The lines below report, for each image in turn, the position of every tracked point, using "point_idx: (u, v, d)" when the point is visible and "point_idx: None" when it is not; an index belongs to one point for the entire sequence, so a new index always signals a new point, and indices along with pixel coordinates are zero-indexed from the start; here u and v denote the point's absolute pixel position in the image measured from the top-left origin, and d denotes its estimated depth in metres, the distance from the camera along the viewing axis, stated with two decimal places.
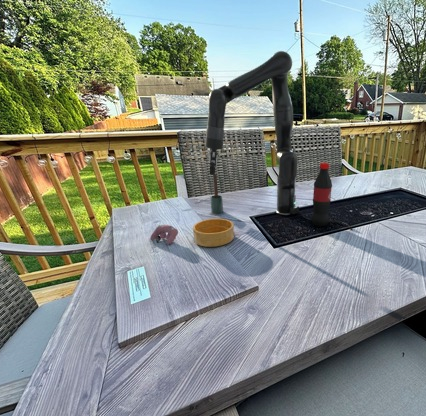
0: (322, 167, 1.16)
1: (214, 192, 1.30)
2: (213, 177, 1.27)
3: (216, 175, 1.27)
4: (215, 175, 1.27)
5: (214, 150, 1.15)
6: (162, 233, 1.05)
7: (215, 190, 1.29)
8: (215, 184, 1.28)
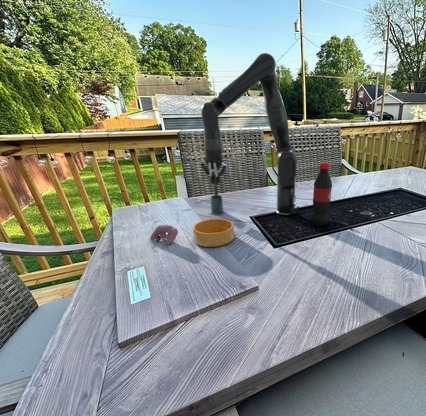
0: (322, 167, 1.16)
1: (214, 192, 1.30)
2: (213, 177, 1.27)
3: None
4: (215, 175, 1.27)
5: (221, 159, 1.25)
6: (162, 233, 1.05)
7: (215, 190, 1.29)
8: (215, 184, 1.28)
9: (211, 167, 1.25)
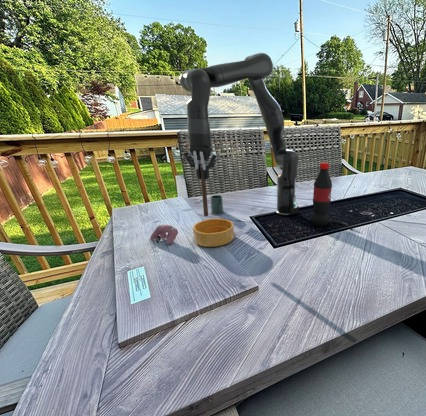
0: (322, 167, 1.16)
1: None
2: (200, 171, 0.98)
3: None
4: (202, 168, 0.97)
5: (210, 147, 0.95)
6: (162, 233, 1.05)
7: (203, 188, 1.00)
8: (203, 180, 0.99)
9: (197, 157, 0.95)
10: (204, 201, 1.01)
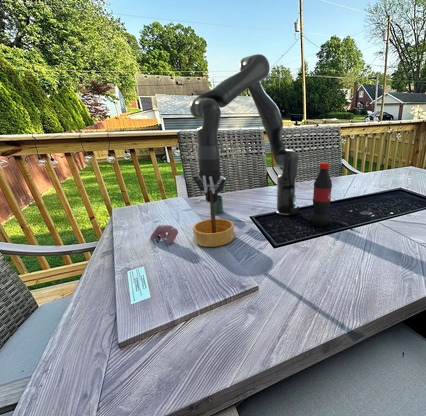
0: (322, 167, 1.16)
1: None
2: (209, 194, 1.00)
3: None
4: (211, 191, 1.00)
5: (219, 172, 0.97)
6: (162, 233, 1.05)
7: (211, 210, 1.02)
8: (211, 202, 1.01)
9: (206, 181, 0.98)
10: (213, 223, 1.04)
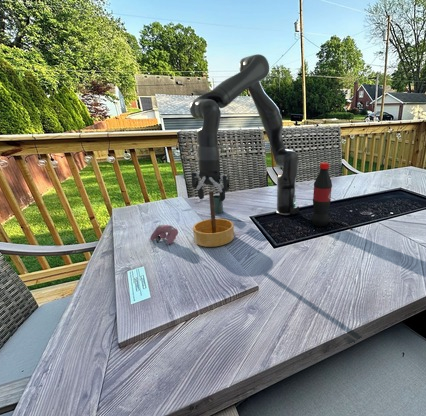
0: (322, 167, 1.16)
1: None
2: (209, 195, 1.00)
3: (213, 193, 1.00)
4: (211, 193, 1.00)
5: (219, 172, 0.97)
6: (162, 233, 1.05)
7: (211, 211, 1.02)
8: (211, 204, 1.01)
9: (203, 182, 0.98)
10: (213, 224, 1.04)
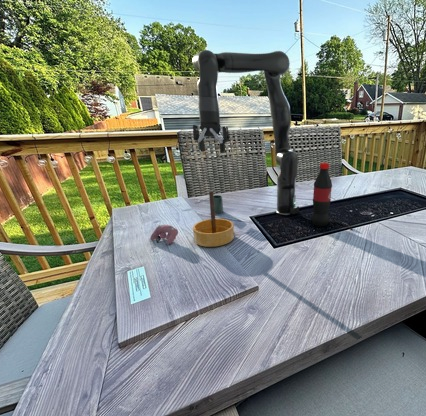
0: (322, 167, 1.16)
1: None
2: (209, 195, 1.00)
3: (213, 193, 1.00)
4: (211, 193, 1.00)
5: (219, 124, 1.03)
6: (162, 233, 1.05)
7: (211, 211, 1.02)
8: (211, 204, 1.01)
9: (204, 134, 1.04)
10: (213, 224, 1.04)
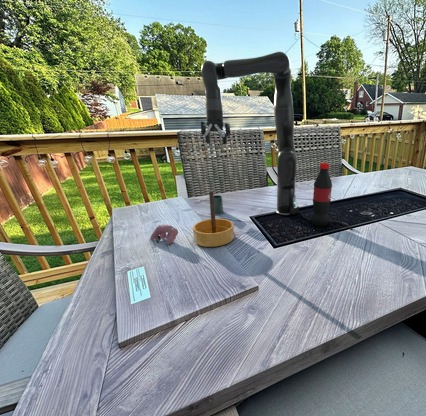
0: (322, 167, 1.16)
1: None
2: (209, 195, 1.00)
3: (213, 193, 1.00)
4: (211, 193, 1.00)
5: (222, 121, 1.26)
6: (162, 233, 1.05)
7: (211, 211, 1.02)
8: (211, 204, 1.01)
9: (210, 129, 1.26)
10: (213, 224, 1.04)
